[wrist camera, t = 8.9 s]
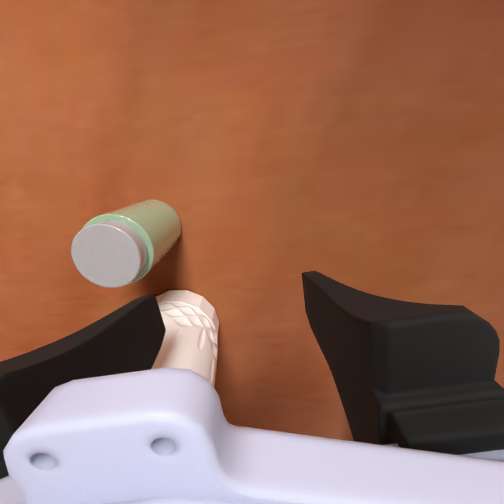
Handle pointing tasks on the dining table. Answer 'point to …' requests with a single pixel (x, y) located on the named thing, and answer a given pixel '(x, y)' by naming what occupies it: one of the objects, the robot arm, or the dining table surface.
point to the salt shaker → (125, 243)
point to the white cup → (188, 333)
